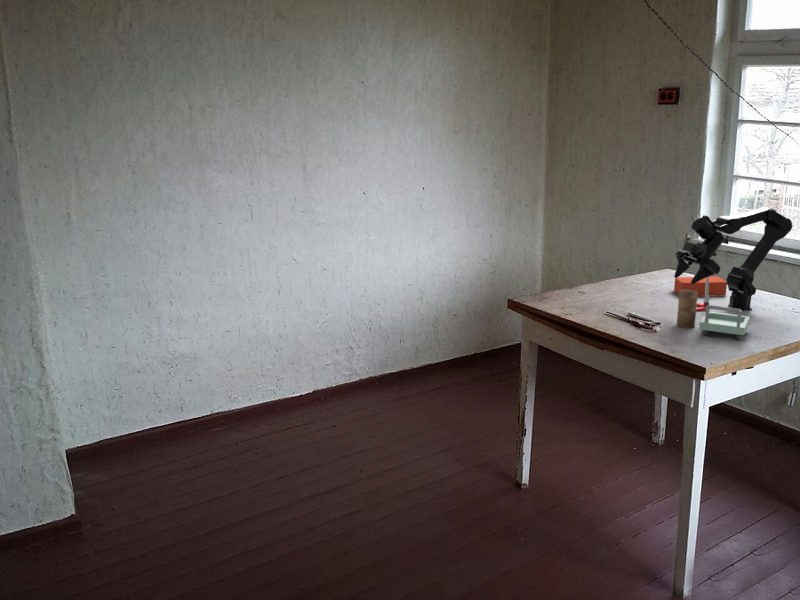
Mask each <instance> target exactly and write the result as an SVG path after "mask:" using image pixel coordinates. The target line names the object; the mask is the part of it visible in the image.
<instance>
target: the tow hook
mask: <svg viewBox="0 0 800 600" xmlns="http://www.w3.org/2000/svg"><path fill="white" fill-rule="evenodd" d="M709 277H710V276H709ZM709 277H706V284H705V296H703V299H704V301H703V303H698V302H697V305H696V312H699V311H700V312H701V311H706V306H707V305H710V302H709V301H710V296H709V295H708V293H709V281H708V278H709ZM710 310H711V309H709V311H710Z"/></svg>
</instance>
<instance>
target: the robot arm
mask: <svg viewBox="0 0 800 600" xmlns="http://www.w3.org/2000/svg"><path fill="white" fill-rule="evenodd" d="M759 222H763V223H764V224H765V226H764V228H763V229H764V230H763V231H764V233H763V235H762V237H761V238H760V240H758V242H757V244H756V245H755V246H754V248H753V249H752V250H751V252H750V254H749V255H748V256H747V258H746V259H745V261H744V262H743V264H741V265H740V266H733V267H732V268H731V270H730V272H729V273H728V274H727V276H726V280H725V281H726V282H727V289H728V291H729V292H731V295H730V296H729V303H728V305H727V307H729V308H737V309H740V310H742V311H753V308H752V307H751V302H752V296H754V295H755V294H756V292H757V288H756V287H755V286H754V284H753V282H754V279H755V278H754V277H755V272H756V271H757V269H758V268H759V266H760V265H761V264H762V262H763V261H764V259H765V258H766V257H767V255H768V254H769V253H770V250H771V249H772V248H773V247H774V245H775V244H776V242H778V241H780V240H781V239H784V238H785V237H787V235H788V234H789V233H790V232H791V230H792V229H793V221H792V220H791V218H787V217H785V216H784V215H782V214H781V213H779V212H777V211H776V210H775V209H774V208H772V207H766V206H764V207H760V208H758V209H755V210H751V211H747V212H745V213H741V214H737V215H721V216H718V217H717V218H716V219H714V220H711V218H710V217H709V216H708V215H704V214H703V216H702V217H698V218H697V219H695V220H694V221H693V222H692V223H691V230H692V231H694V232H695V234H697V236H698V237H699V238H700V239H701V240H703V241H701V242H697V243H692V242H689V241H684V244H683V246H682V249H681V250H678V251H676V253H675V254H674V256H675V258H676V259H677V266H676V270H675V273H674V279H675V278H677V277H681V275H683V274H684V273H686V272H687V270H688V269H690V268H691V265H693V264H696V265H699V267H698V270H697V272H696V273H695V274H694V276H693V277H694V278H693V279H692V281H691V283H692V284H694V283H696V282H698V281H700V280H702V279H704V278H706V277H712V276H714V275H718V274H719V273H720V272H721V266H720V265H719V264H718V263H717V262H716V261H715V260H714V259H713V258H712V257H716V256H717V253H716V252H717V251H718V249H719V248H720V247H721V246H722V244H725V245H729V240H728V236H727V235H733V234H735V233H737V232H739V231H740V230H741V228H743V227H746V226H750V225H753V224H756V223H759ZM723 233H724V234H727V235H724V234H723ZM711 258H712V259H711Z"/></svg>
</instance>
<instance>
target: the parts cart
mask: <svg viewBox="0 0 800 600" xmlns="http://www.w3.org/2000/svg"><path fill="white" fill-rule="evenodd" d="M709 309H710V310H717V311H724V312H723V313H722V312H715V311H710V310H709ZM726 311H727V312H732V314H731V313H725V312H726ZM733 312H734V313H737V314H733ZM742 314H743V310H740V309H737V308H730V307H729V306H720V305H719V306H718V305H710V304H709V305H707V306H706V310H705V314H704V315H703V317H702V318H701V320H700V321H699V326H698V327H699V328H698V329H699V330H702V335H703V336H708V333H709V332H715V333H716V332H717V333H723V334H730V335H731V334H732V335H735V340H737V341H740V340H741V336H745V333H746V331H747V330H748V327H749V325H750V320H751V316H747V315H742Z"/></svg>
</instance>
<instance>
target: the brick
mask: <svg viewBox="0 0 800 600" xmlns="http://www.w3.org/2000/svg"><path fill="white" fill-rule="evenodd" d="M693 278H694V276H685V277H682V276H679V277H677V278H675V277H674V284H673V285H674V287H673V291H674V292H675V293H676V294H677V293H678V294H677V295H679V291H680V290H685V289H687V290H695V291H697V292H698V294H697V297H704V296H705V284H706V278H704V279H702V280H700V281H698V282H696V283H694V284H692V283H691V281H692V279H693ZM708 281H709V293H708V295H710V296H709V297H712V296H711V295H726V296H727V289H728V285H727V281H726V280H724V279H723V278H722V277H719V276H709V278H708Z"/></svg>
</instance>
